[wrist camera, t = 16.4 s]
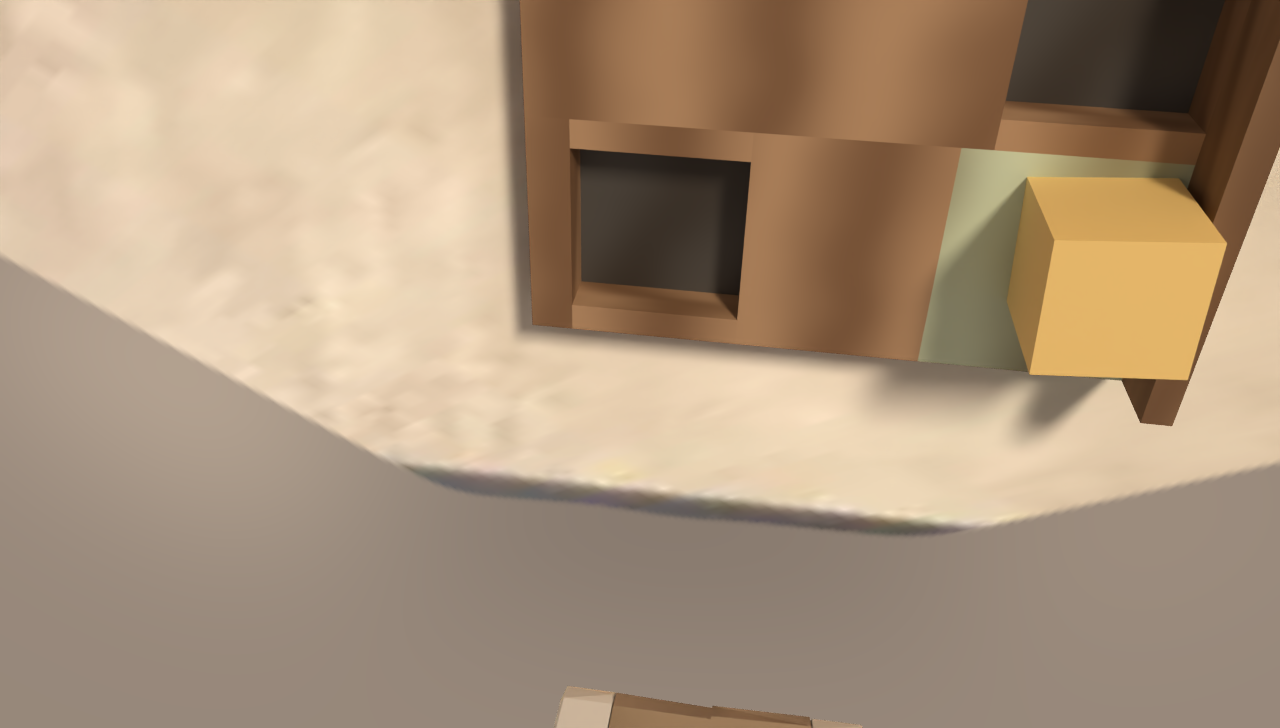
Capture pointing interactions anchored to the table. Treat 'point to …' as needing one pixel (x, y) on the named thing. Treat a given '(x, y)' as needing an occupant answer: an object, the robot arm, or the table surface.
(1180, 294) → the block
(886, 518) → the table surface
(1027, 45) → the box
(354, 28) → the table surface
